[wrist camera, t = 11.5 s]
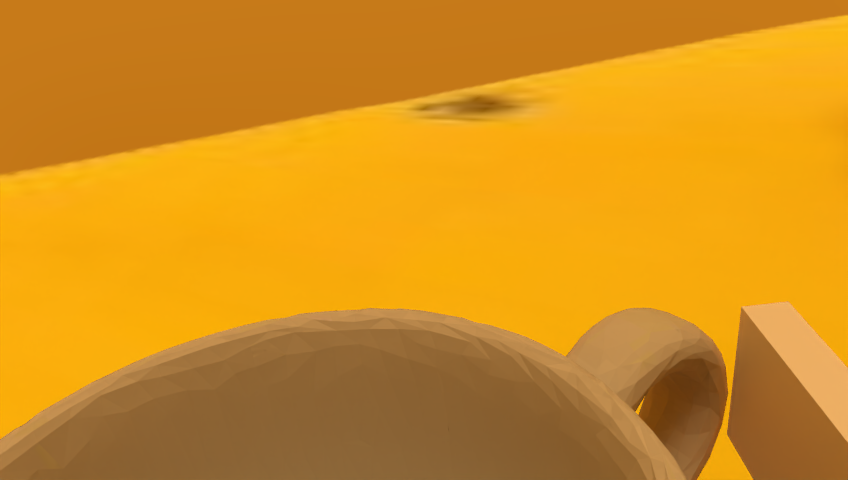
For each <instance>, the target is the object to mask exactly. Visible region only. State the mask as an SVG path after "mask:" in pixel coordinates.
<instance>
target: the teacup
mask: <svg viewBox="0 0 848 480" xmlns="http://www.w3.org/2000/svg"><path fill="white" fill-rule="evenodd" d="M644 396H645V398H644ZM727 396H728V388H727V377H726V367H725V364H724V361H723V357H722V354H721V352H720V351H719V349H718V348H717V346H716V345H715V343H714V342H713V340H712V339H711V338H710V337H709V336H707V335H706V334H705V333H704V332H703V331H702V330H700V329H699V328H698V327H697V326H696V325H694V324H692V323H690V322H688V321H686V320H684V319H681V318H679V317H677V316H675V315H672V314H670V313H668V312H664V311H660V310H656V309H652V308H631V309H626V310H623V311H620V312H618V313H615V314H612V315H610V316H608V317H606V318H604V319H603V320H601V321H600V322H598V323H597V324H596V325H594V326H593V327H592V328H591V329H589V330H588V331H587V332H586V333H585V334H584V335H583V336H582V337H581V338H580V339H579V341H578V342H577V343H576V344H575V346H574V347H573V348H572V350H571V351H570V352H569V353H568V355H567V356H566V357H565V356H563V355H562V354H560V353H558V352H556V351H554V350H552V349H550V348H548V347H546V346H544V345H542V344H540V343H538V342H536V341H534V340H532V339H529V338H527V337H525V336H522V335H519V334H516V333H513V332H510V331H507V330H504V329H500V328H497V327H494V326H491V325H486V324H481V323H476V322H473V321H470V320H467V319H465V318H459V317H454V316H448V315H443V314H438V313H432V312H427V311H420V310H409V309H374V308H369V309H362V310H345V311H328V312H315V313H304V314H298V315H295V316H291V317H288V318H280V319H271V320H266V321H261V322H257V323H253V324H248V325H244V326H240V327H237V328H233V329H229V330H226V331H222V332H218V333H215V334H212V335H208V336H205V337H202V338H199V339H195V340H192V341H189V342H186V343H184V344H181V345H178V346H175V347H172V348H169V349H166V350H163V351H161V352H158V353H156V354H153V355H151V356H149V357H146V358H144V359H141V360H139V361H136V362H134V363H132V364H130V365H128V366H126V367H124V368H122V369H120V370H118V371H115V372H113V373H111V374H109V375H107V376H105V377H103V378H101V379H99V380H96V381H94V382H92V383H90V384H89V385H87V386H85V387H83V388H82V389H80V390H78V391H76V392H75V393H73V394H71V395H69V396H68V397H66V398H64V399H62V400H61V401H59V402H57V403H55V404H54V405H52V406H50V407H48V408H46V409H45V410H43V411H41V412H40V413H38V414H37V415H36V416H34V417H33V418H32V419H31V420H29V421H28V422H27V423H26V424H24V425H22V426H20V427H19V428H17V429H15V430H13V431H12V432H10V433H9V434H7V435H6V436H5V437H3V438H2V439H0V480H697V478H698V476H699V475H700V473H701V471H702V469H703V468H704V466H705V464H706V463H707V461H708V459H709V457H710V455H711V452H712V449H713V447H714V444H715V441H716V439H717V436H718V433H719V431H720V428H721V425H722V422H723V416H724V411H725V406H726V401H727ZM643 398H644V401H643V404H642V407H641V409H640V412H639V415H637V414H636V413H635V411H636V410H637V408H638V406H639V405H640V403H641V401H642V400H643Z"/></svg>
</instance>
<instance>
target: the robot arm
mask: <svg viewBox="0 0 848 480" xmlns="http://www.w3.org/2000/svg"><path fill="white" fill-rule="evenodd" d="M727 435H728V437H729V438H730V440H731V442H732V443H733V445H734V447H735V449H736V450H737V452H738V454H739V455H740V457H741V459H742V461H743V462H744V464H745V466H746V467H747V469H748V471H749V472H750V474H751V476H752V478H753V479H754V480H848V368H847V367H846V365H845V364H844V363H843V362H842V361H841V360H840V359H839V358H838V356H837V355H836V354H835V353H834V352H833V351H832V350H831V349H830V348H829V346H828V345H827V344H826V343H825V342H824V341H823V340H822V339H821V338H820V336H819V335H818V334H817V333H816V332H815V331H814V330H813V329H812V327H811V326H810V325H809V324H808V323H807V322H806V321H805V320H804V319H803V317H802V316H801V315H800V314H799V313H798V312H797V311H796V310H795V309H794V307H793V306H792V305H791V304H790V303H789V302H780V303H771V304H763V305H754V306H745V307H741V316H740V325H739V334H738V343H737V351H736V360H735V369H734V378H733V387H732V395H731V404H730V413H729V422H728V430H727Z"/></svg>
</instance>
